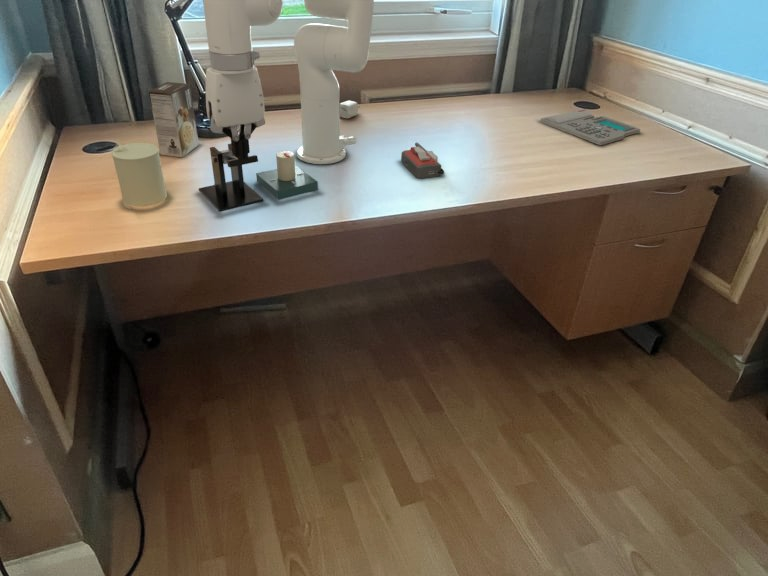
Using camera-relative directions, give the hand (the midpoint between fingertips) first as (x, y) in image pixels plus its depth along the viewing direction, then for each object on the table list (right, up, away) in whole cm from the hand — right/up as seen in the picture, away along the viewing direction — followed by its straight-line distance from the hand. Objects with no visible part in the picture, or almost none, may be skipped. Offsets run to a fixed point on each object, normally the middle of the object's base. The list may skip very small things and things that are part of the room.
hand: (241, 157), depth 115 cm
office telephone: (+91, +23, +63) cm, 113 cm away
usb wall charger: (+18, +27, +64) cm, 72 cm away
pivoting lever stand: (-6, -6, +14) cm, 16 cm away
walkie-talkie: (+37, +6, +35) cm, 51 cm away
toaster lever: (-3, 0, +5) cm, 6 cm away
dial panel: (+6, -3, +19) cm, 20 cm away
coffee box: (-25, +10, +36) cm, 45 cm away
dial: (+6, -1, +17) cm, 18 cm away
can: (-24, -7, +12) cm, 27 cm away
